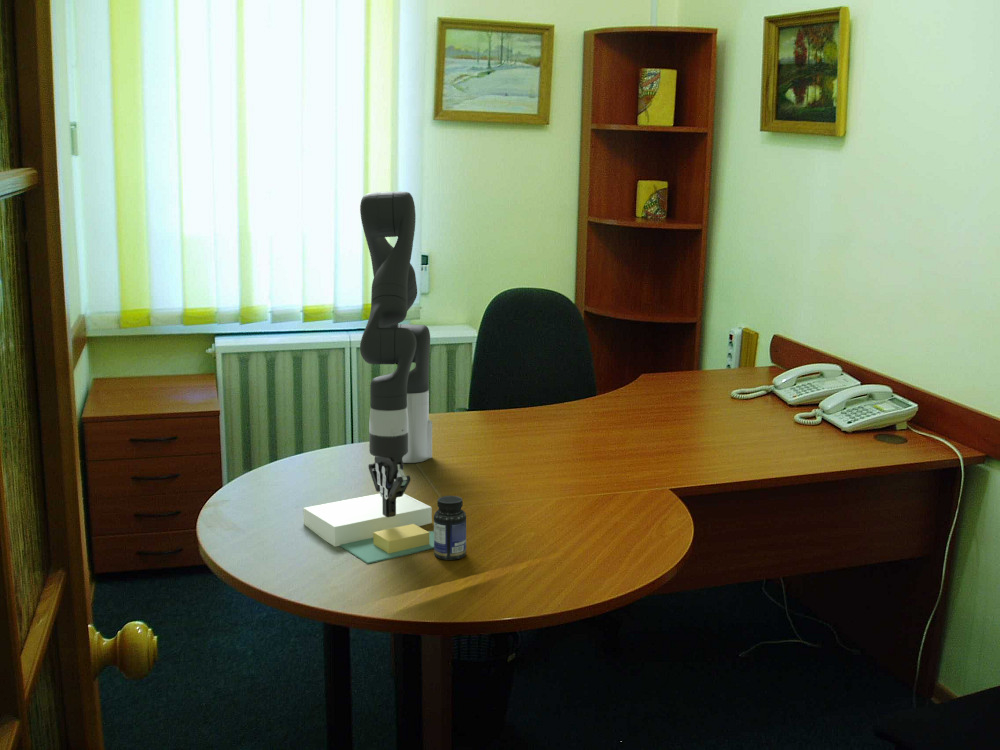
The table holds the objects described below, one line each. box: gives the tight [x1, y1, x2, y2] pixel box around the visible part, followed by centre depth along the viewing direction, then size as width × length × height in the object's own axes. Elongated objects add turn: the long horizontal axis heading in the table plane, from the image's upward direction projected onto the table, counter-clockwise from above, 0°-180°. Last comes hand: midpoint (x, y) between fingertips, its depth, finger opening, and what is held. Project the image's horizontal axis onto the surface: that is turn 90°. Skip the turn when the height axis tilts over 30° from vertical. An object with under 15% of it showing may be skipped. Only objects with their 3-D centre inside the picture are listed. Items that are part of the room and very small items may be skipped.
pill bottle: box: [433, 495, 467, 561], centre depth 180 cm, size 6×6×11 cm
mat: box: [339, 530, 434, 565], centre depth 186 cm, size 20×11×1 cm, turn 126°
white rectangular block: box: [303, 493, 433, 548], centre depth 196 cm, size 22×14×4 cm, turn 126°
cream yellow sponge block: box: [373, 524, 430, 553], centre depth 185 cm, size 9×6×2 cm, turn 126°
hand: (389, 515), depth 188 cm, fingers closed
